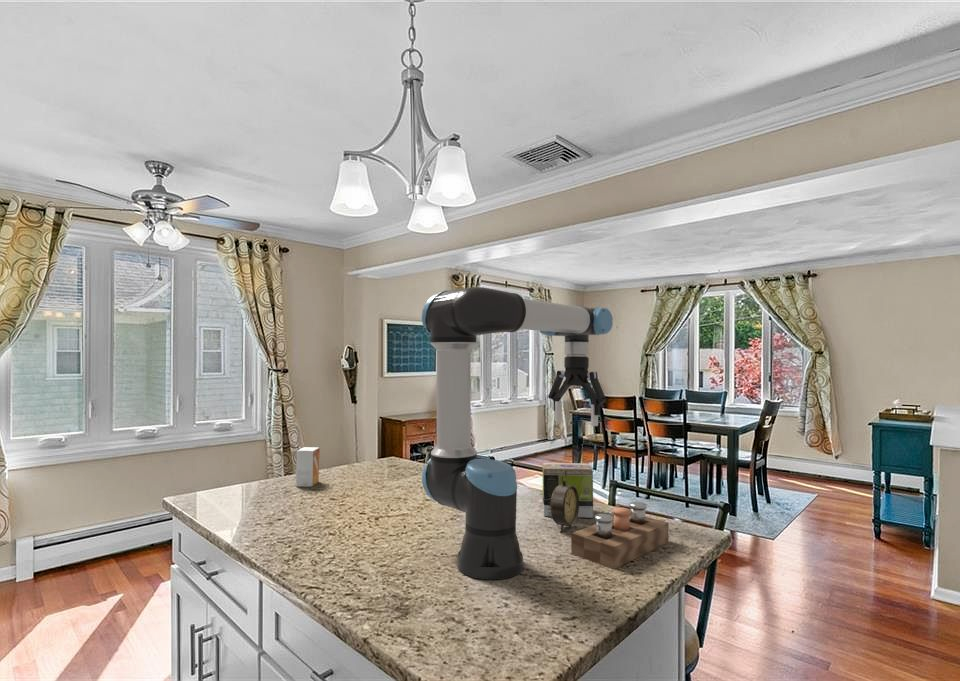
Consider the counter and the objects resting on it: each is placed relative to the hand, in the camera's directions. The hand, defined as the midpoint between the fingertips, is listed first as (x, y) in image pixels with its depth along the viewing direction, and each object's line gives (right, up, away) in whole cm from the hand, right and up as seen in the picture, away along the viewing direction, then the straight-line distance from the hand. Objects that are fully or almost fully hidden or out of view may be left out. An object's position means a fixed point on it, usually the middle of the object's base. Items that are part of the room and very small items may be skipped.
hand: (575, 423), depth 160 cm
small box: (-94, -27, +29) cm, 102 cm away
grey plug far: (+12, -22, -25) cm, 35 cm away
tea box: (-3, -28, -2) cm, 28 cm away
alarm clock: (-6, -27, -16) cm, 32 cm away
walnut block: (+6, -27, -30) cm, 41 cm away
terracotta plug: (+6, -22, -30) cm, 38 cm away
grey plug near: (0, -22, -36) cm, 42 cm away
